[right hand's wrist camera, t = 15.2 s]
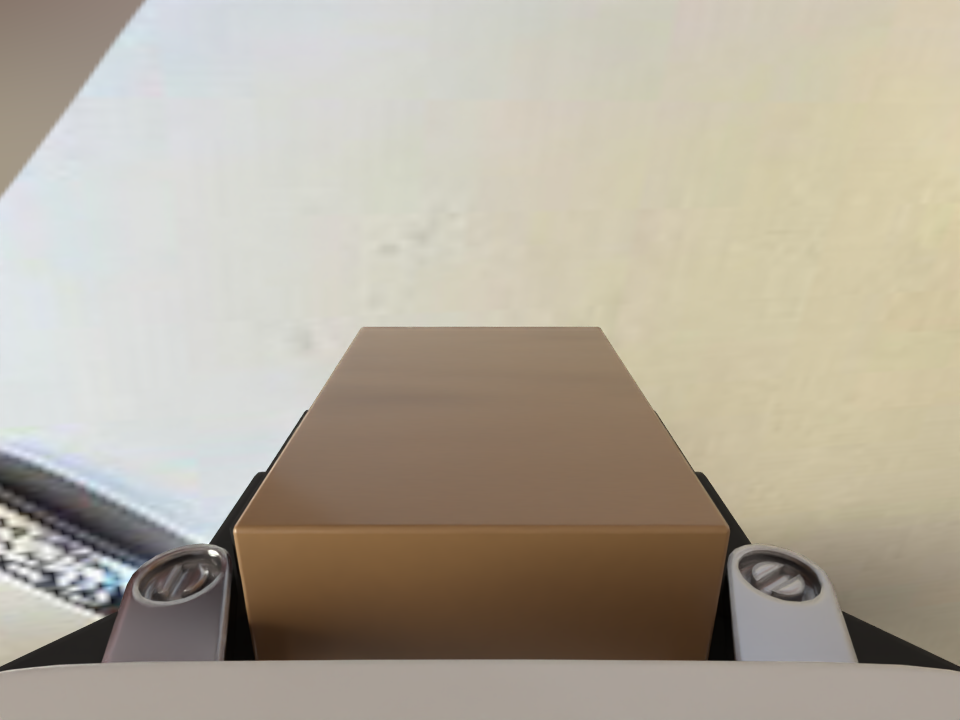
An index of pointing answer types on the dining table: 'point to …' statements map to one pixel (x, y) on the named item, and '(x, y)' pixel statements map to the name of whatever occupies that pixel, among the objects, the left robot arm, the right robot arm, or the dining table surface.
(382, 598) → the wooden block
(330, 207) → the dining table surface
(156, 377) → the dining table surface
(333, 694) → the right robot arm
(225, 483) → the dining table surface
